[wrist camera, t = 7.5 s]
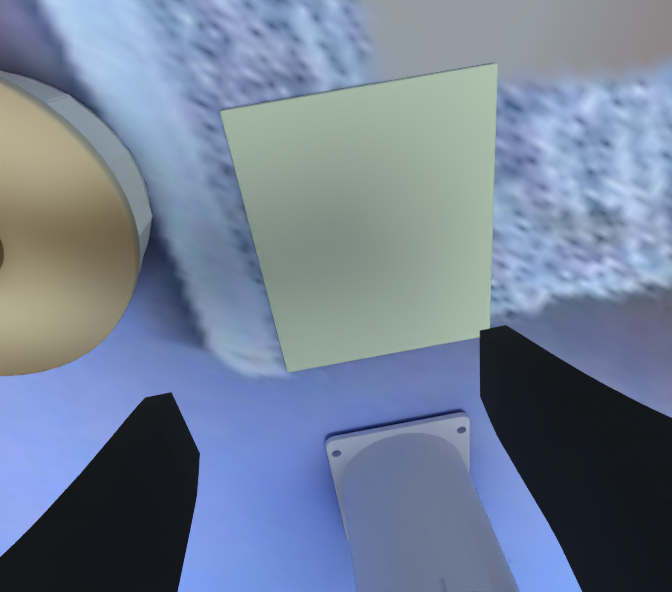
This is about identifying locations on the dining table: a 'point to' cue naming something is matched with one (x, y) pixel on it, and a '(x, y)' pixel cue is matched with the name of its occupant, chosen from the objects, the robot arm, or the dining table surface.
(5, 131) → the lid
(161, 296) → the dining table surface
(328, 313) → the mat
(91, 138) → the bowl
